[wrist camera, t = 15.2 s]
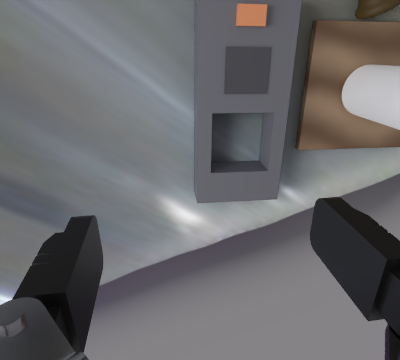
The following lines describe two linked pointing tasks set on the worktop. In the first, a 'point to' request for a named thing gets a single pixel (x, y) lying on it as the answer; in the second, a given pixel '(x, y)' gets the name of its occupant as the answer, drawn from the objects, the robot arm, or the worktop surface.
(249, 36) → the grey block with hole
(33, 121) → the worktop surface
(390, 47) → the walnut board
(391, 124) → the can
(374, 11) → the kendama
